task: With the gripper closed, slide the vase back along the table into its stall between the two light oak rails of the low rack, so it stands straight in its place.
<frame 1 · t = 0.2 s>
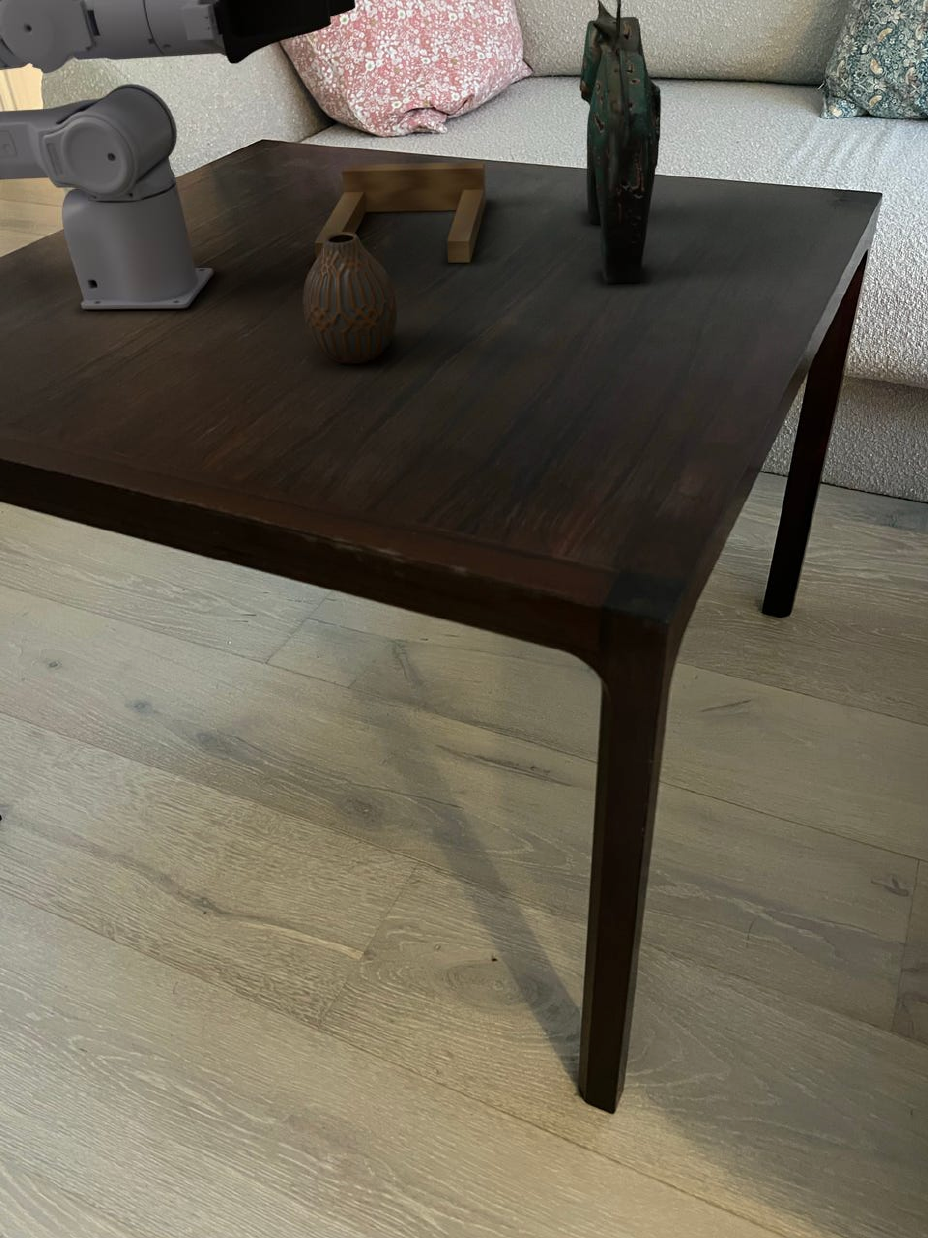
rack: (404, 235, 97), on the table
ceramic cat: (616, 246, 92), on the table
vase: (356, 354, 78), on the table
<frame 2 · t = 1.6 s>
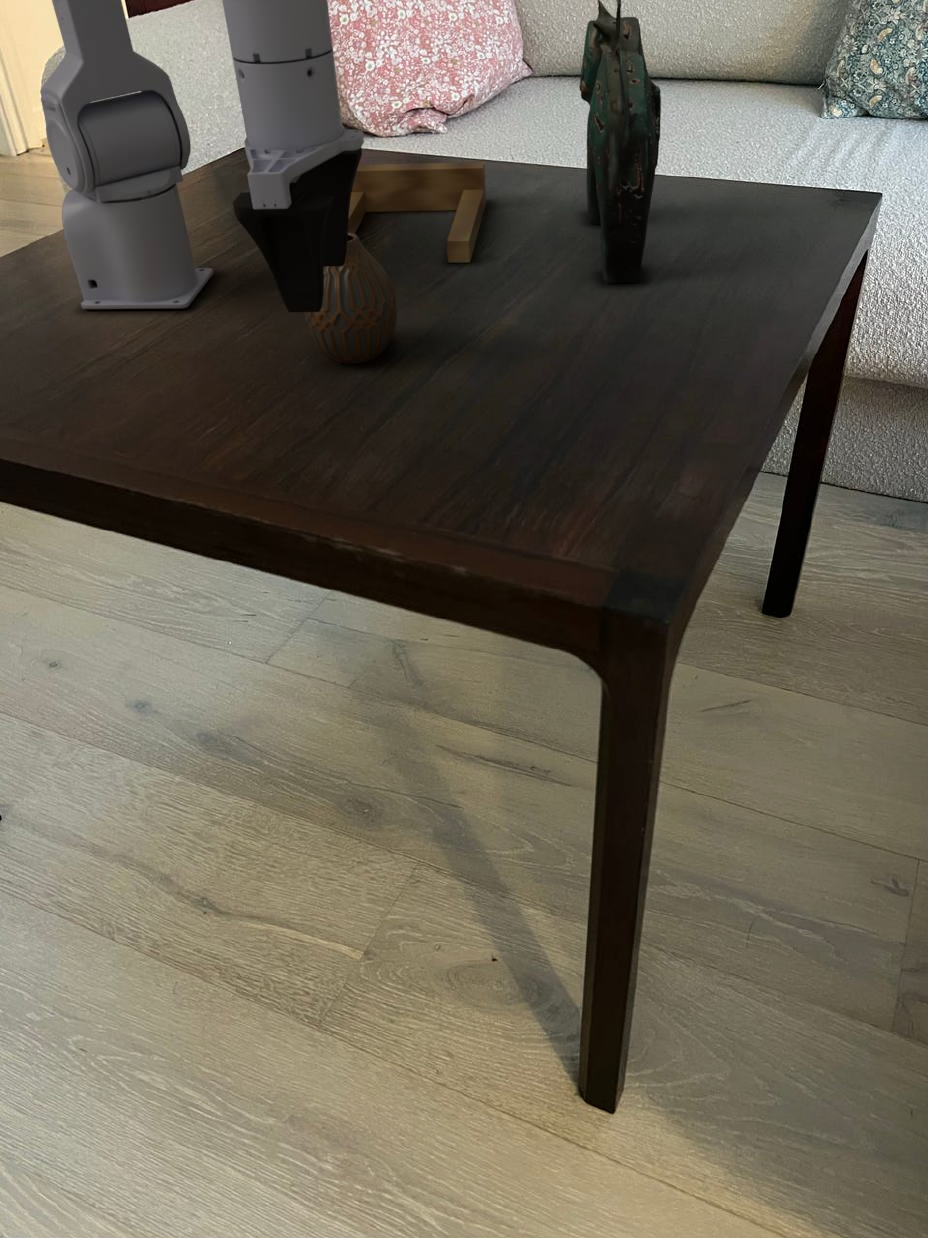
hand: (317, 286, 66), 8 cm above the table, tool pointing down, fingers open, 7 cm apart
nothing on the table moved.
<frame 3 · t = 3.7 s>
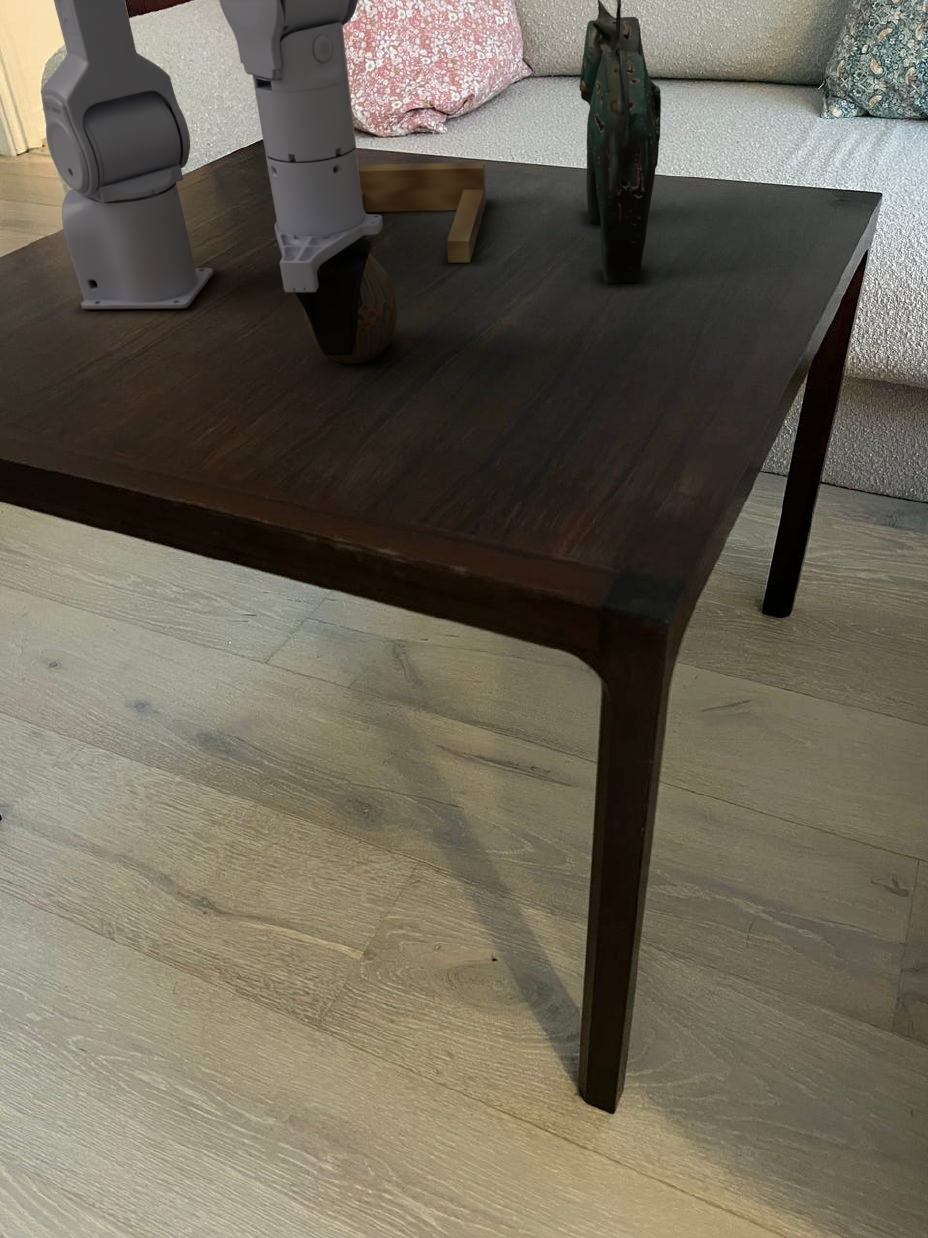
hand: (339, 351, 73), 2 cm above the table, tool pointing down, fingers closed
vase: (356, 354, 78), on the table, touching gripper
everything else where it was.
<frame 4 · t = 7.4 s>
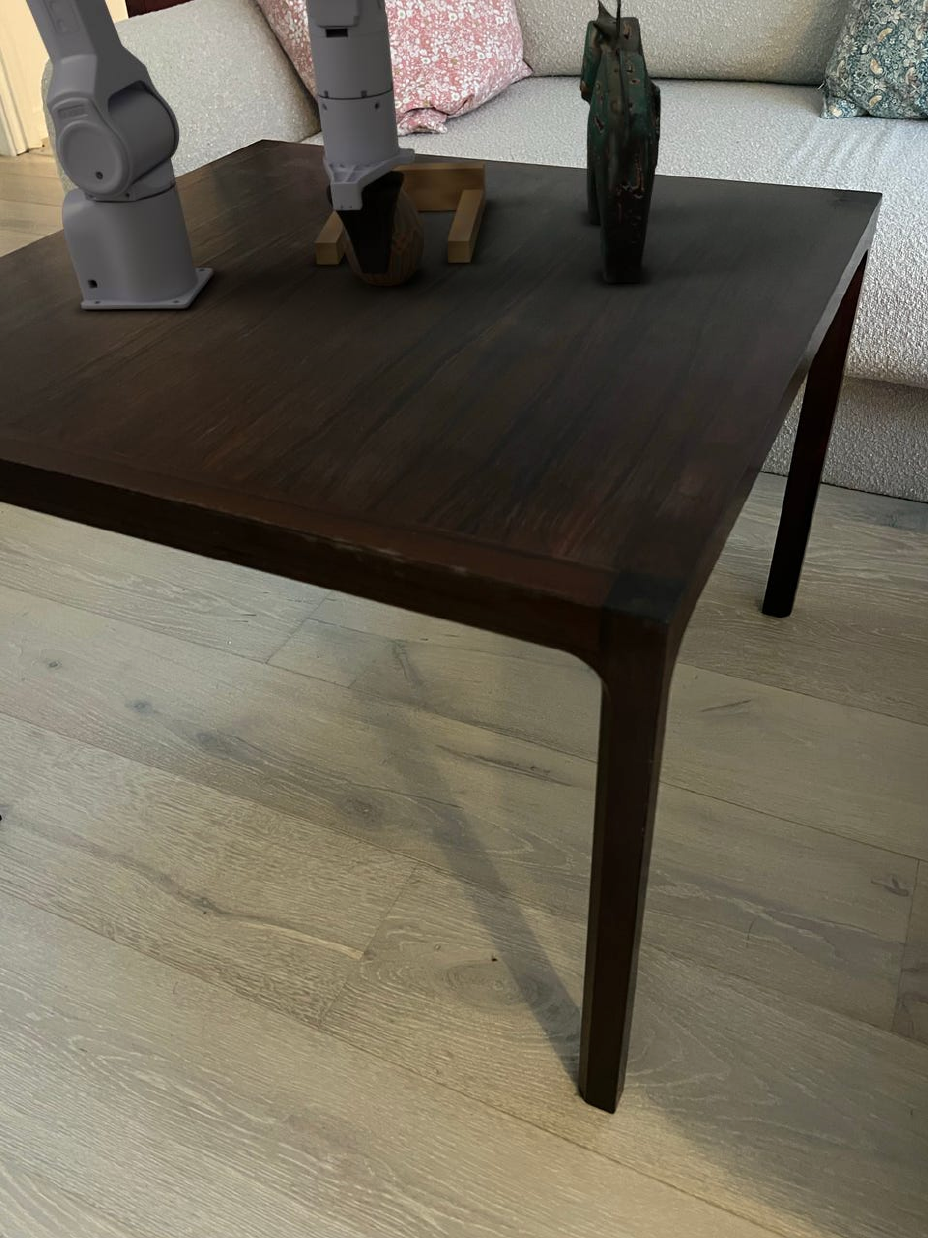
hand: (375, 270, 84), 2 cm above the table, tool pointing down, fingers closed
vase: (387, 280, 89), on the table, touching gripper
everything else where it was.
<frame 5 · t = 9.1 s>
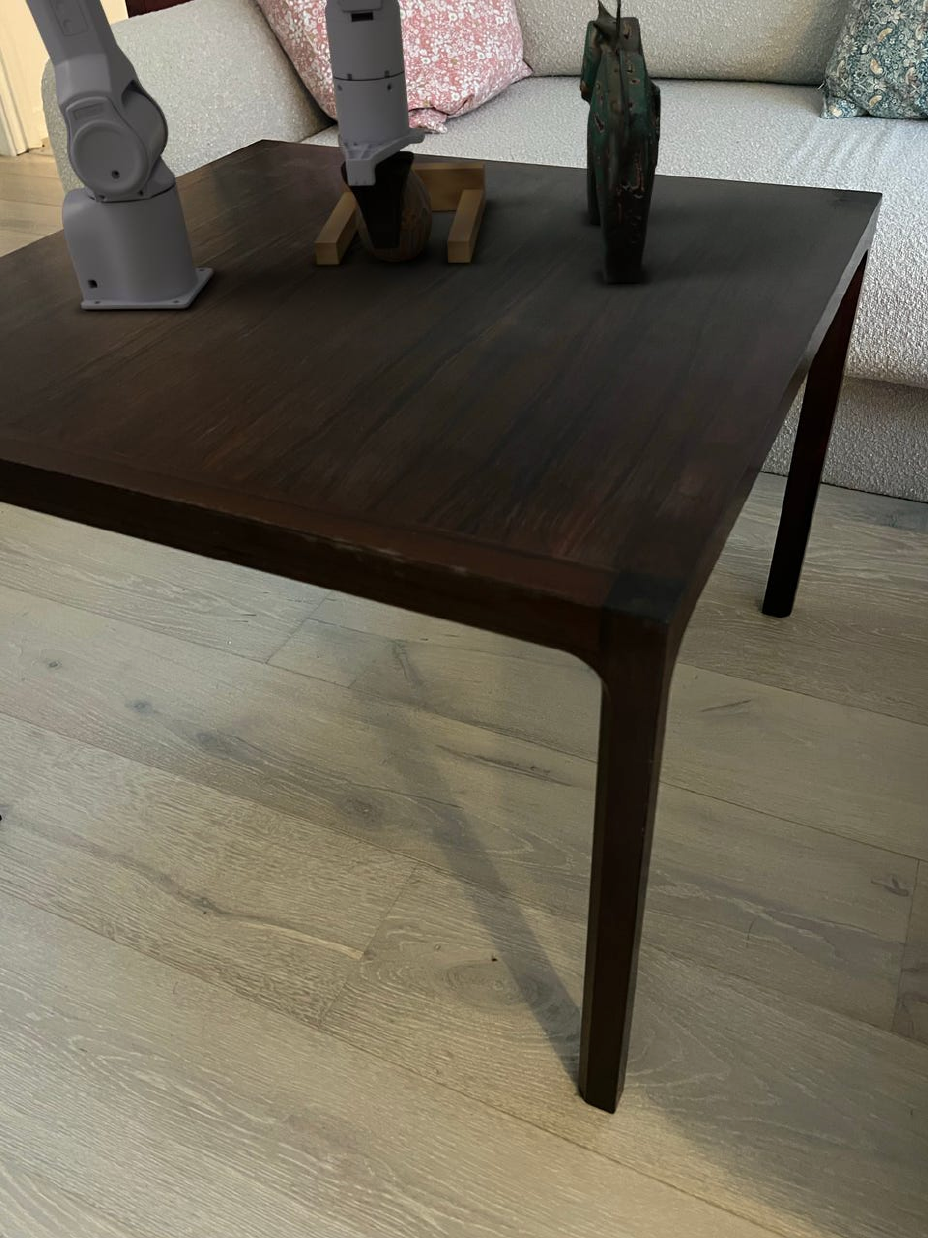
hand: (386, 246, 88), 2 cm above the table, tool pointing down, fingers closed
vase: (397, 256, 93), on the table, touching gripper
everything else where it was.
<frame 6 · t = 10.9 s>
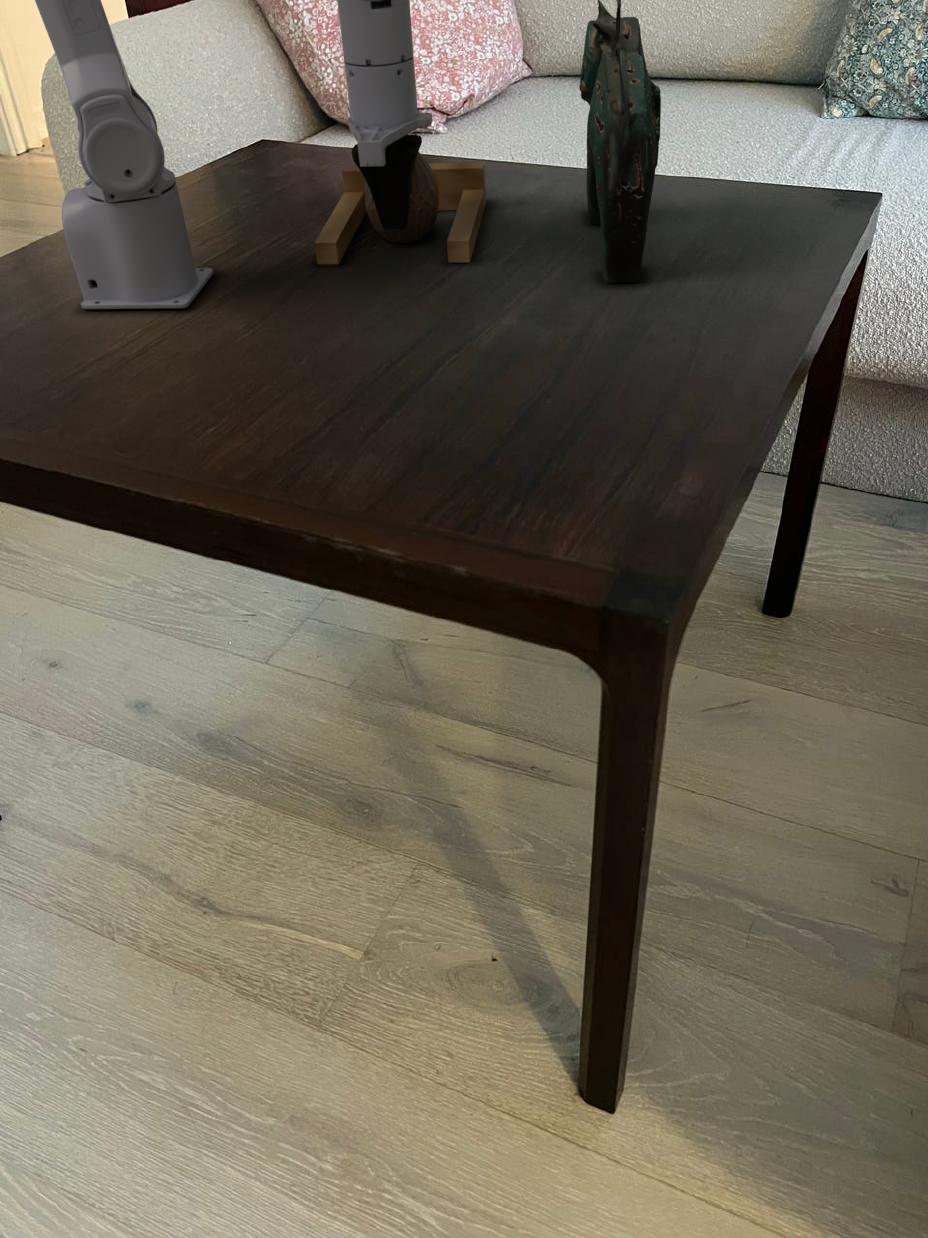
hand: (394, 226, 92), 2 cm above the table, tool pointing down, fingers closed
vase: (405, 237, 97), on the table, touching gripper
everything else where it was.
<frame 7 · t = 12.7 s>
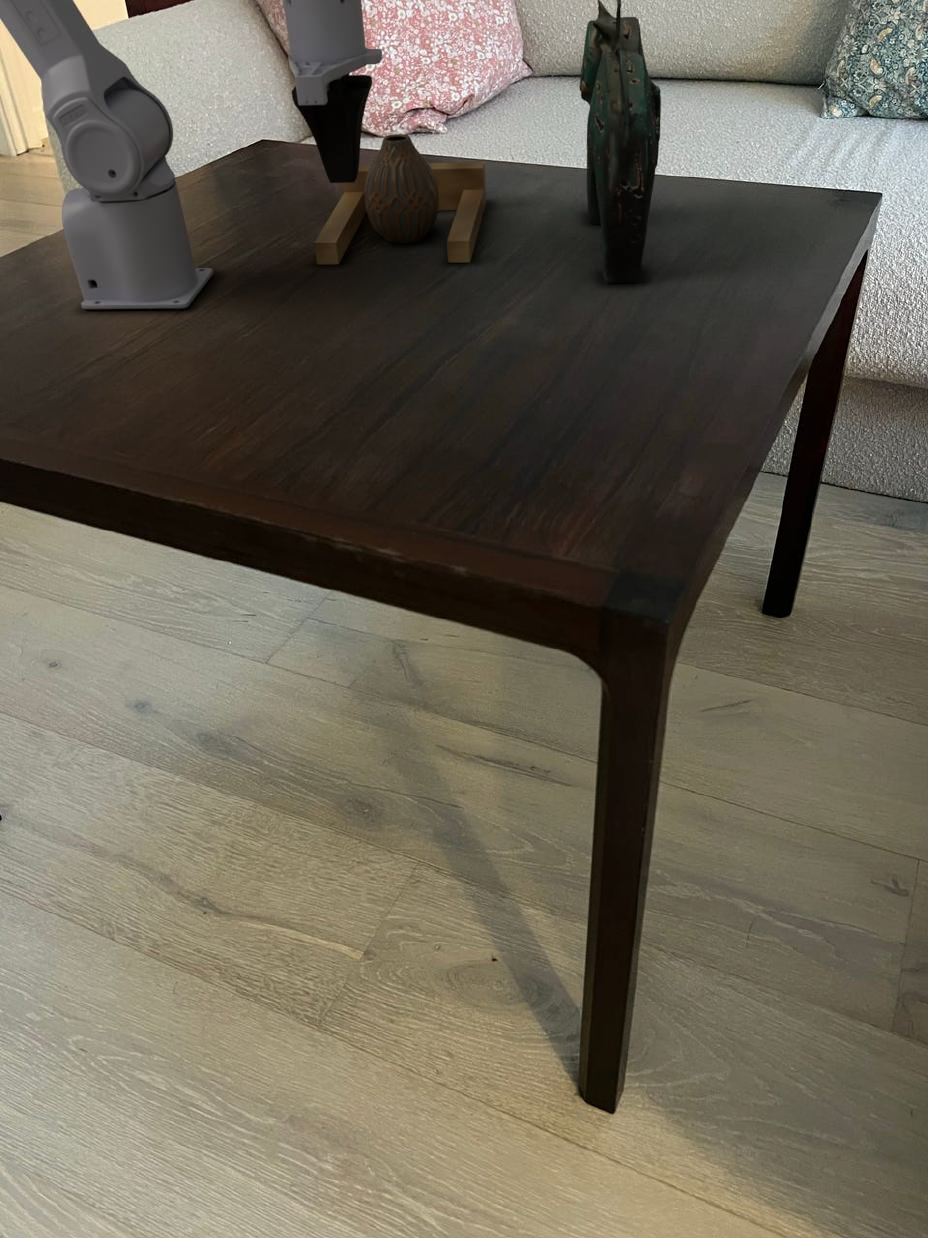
hand: (343, 180, 82), 9 cm above the table, tool pointing down, fingers closed
vase: (405, 237, 97), on the table
everything else where it was.
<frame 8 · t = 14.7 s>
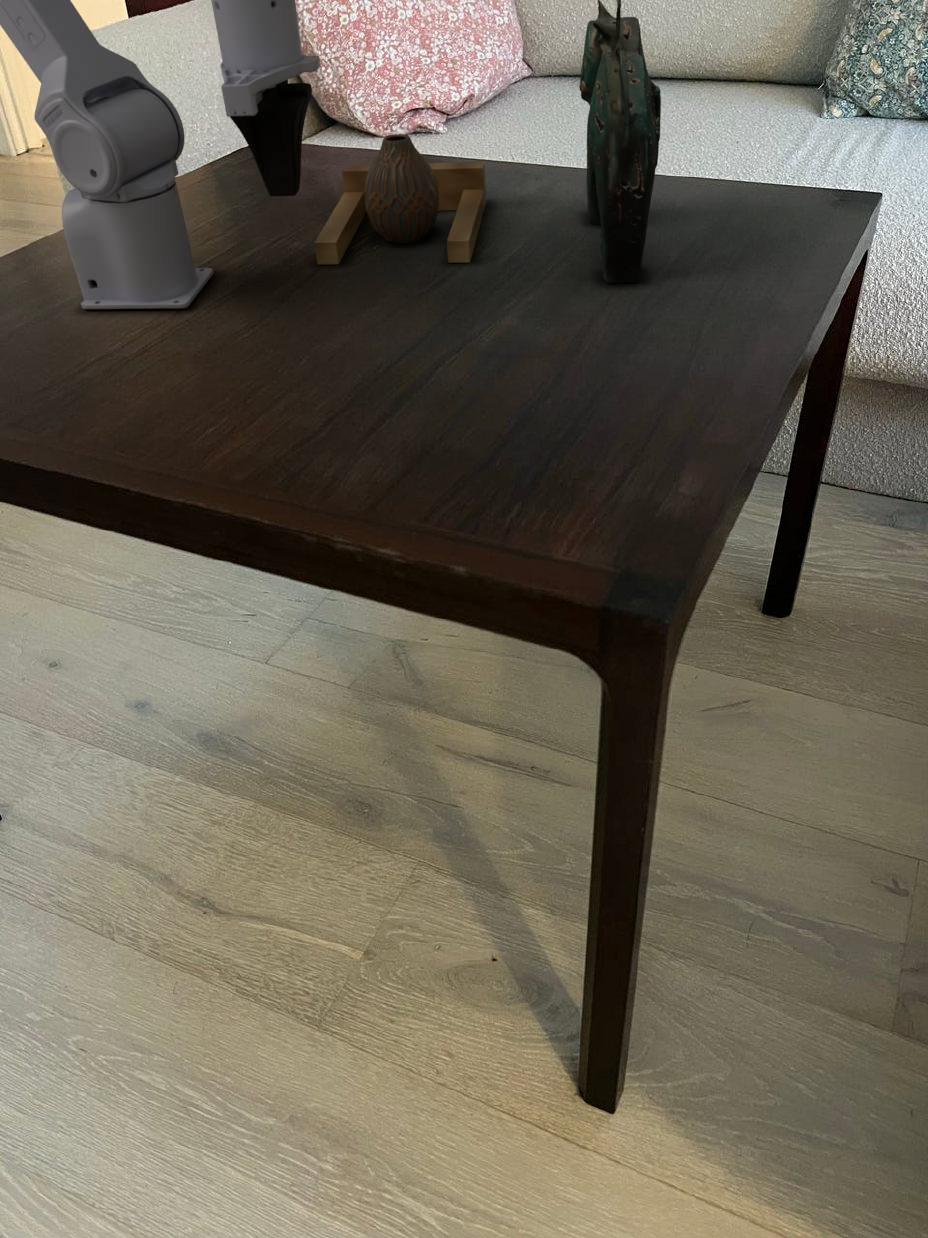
hand: (284, 193, 78), 9 cm above the table, tool pointing down, fingers closed
nothing on the table moved.
at the end: vase 0.0 cm off-centre on the rack, point 0.0 cm above the rack's base; vase tilted 0° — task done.
